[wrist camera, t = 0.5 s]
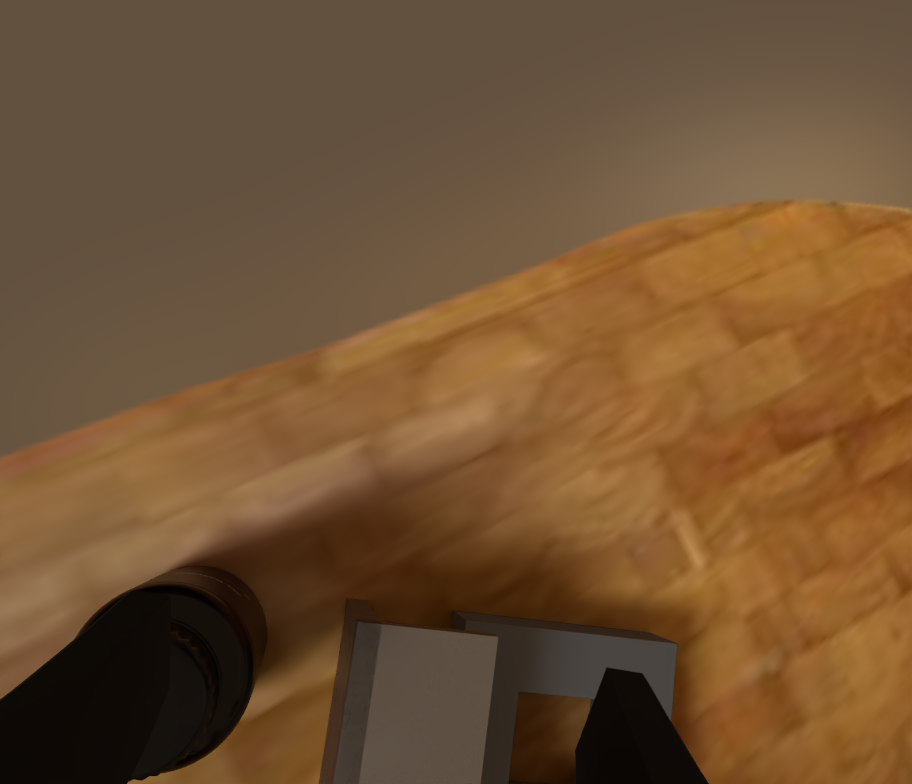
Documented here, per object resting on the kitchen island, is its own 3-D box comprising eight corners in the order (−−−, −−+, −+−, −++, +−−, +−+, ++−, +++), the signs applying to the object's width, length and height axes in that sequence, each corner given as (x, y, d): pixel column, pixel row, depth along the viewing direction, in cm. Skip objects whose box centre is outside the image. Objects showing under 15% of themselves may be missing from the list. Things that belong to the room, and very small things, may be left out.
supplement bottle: (249, 545, 36) (223, 568, 24) (282, 683, 35) (272, 773, 24) (102, 587, 34) (1, 633, 23) (135, 732, 34) (48, 854, 22)
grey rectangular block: (433, 841, 36) (464, 921, 29) (310, 834, 35) (313, 916, 28) (463, 611, 38) (498, 636, 31) (347, 598, 37) (357, 621, 30)
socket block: (630, 852, 38) (658, 881, 35) (423, 840, 36) (434, 871, 33) (649, 632, 40) (677, 643, 37) (453, 610, 38) (466, 620, 35)
